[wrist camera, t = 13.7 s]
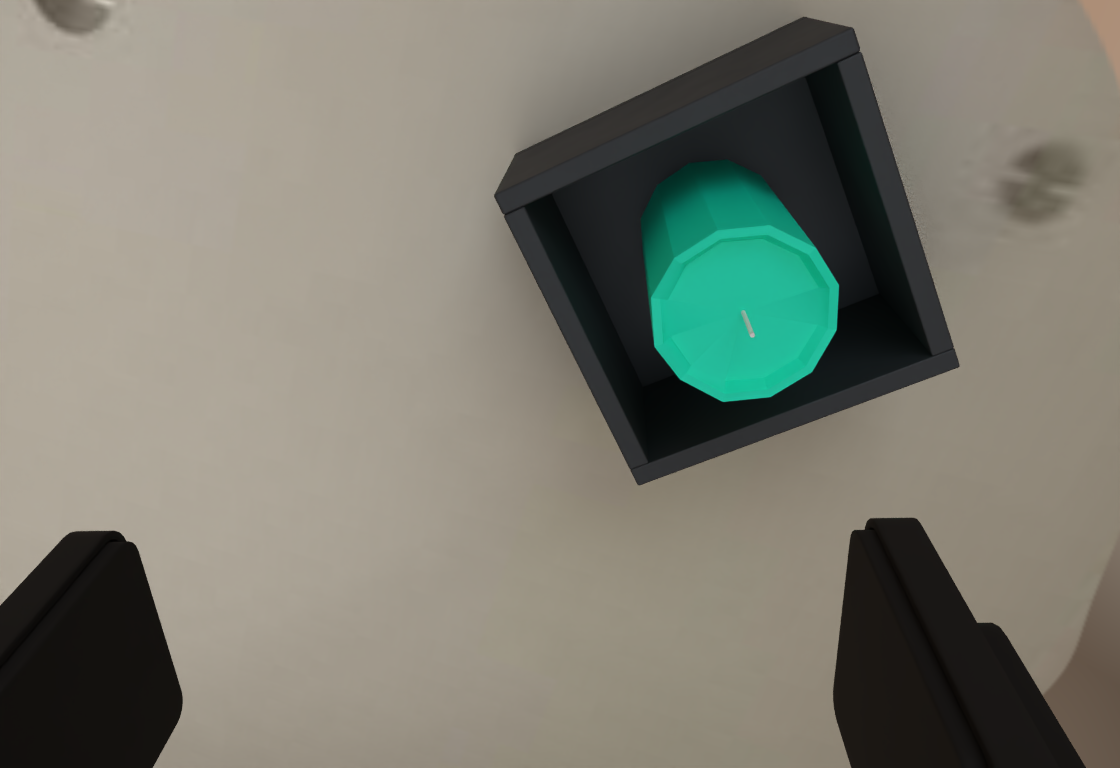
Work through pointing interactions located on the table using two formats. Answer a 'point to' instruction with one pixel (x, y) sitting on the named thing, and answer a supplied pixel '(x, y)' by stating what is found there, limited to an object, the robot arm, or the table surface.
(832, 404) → the bin
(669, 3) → the table surface
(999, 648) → the robot arm
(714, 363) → the candle
